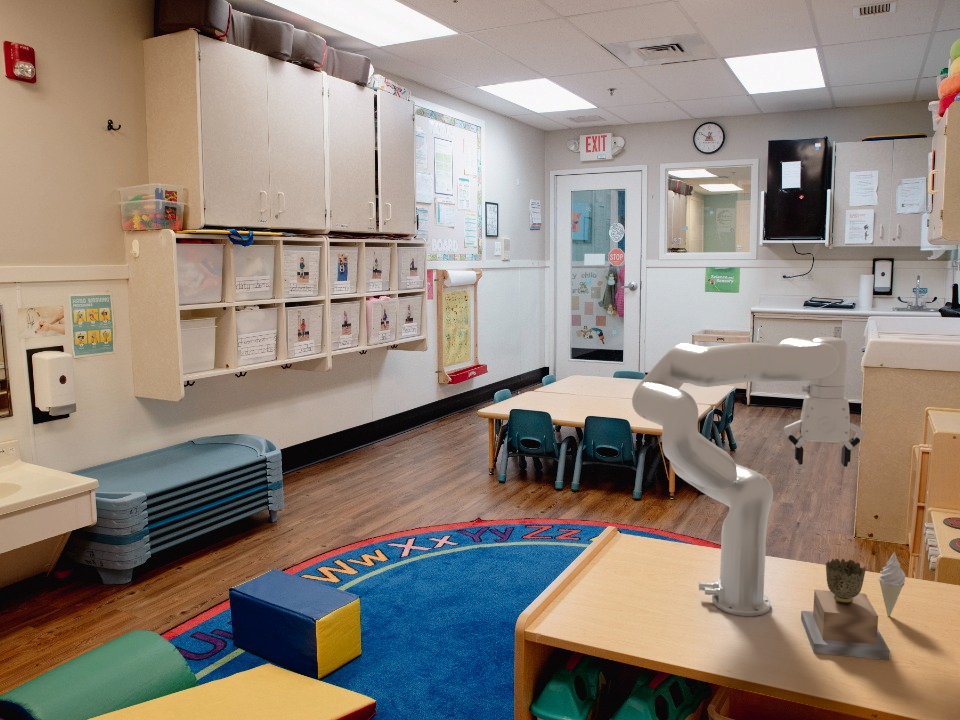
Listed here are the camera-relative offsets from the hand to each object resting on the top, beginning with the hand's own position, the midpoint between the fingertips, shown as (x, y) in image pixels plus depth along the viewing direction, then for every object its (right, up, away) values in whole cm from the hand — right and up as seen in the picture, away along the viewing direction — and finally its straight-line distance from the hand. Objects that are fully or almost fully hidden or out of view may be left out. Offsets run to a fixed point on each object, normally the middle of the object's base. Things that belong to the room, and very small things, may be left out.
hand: (821, 463), depth 181 cm
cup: (-4, -26, -19) cm, 33 cm away
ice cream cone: (+11, -32, -9) cm, 35 cm away
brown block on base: (-4, -34, -18) cm, 39 cm away
